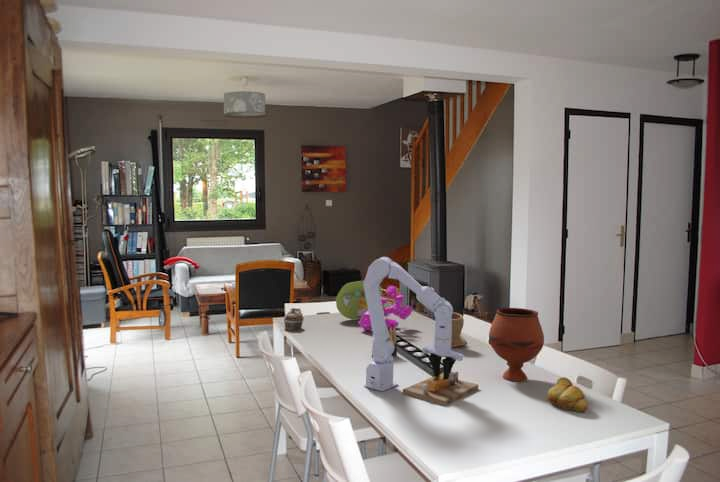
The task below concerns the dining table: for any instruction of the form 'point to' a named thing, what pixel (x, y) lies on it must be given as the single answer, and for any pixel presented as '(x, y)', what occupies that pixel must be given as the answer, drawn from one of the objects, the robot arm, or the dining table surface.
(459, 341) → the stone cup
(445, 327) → the robot arm
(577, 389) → the bread roll
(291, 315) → the cupcake
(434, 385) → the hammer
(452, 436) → the dining table surface
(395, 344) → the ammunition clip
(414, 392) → the walnut board
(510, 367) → the goblet
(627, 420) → the dining table surface
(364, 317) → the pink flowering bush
